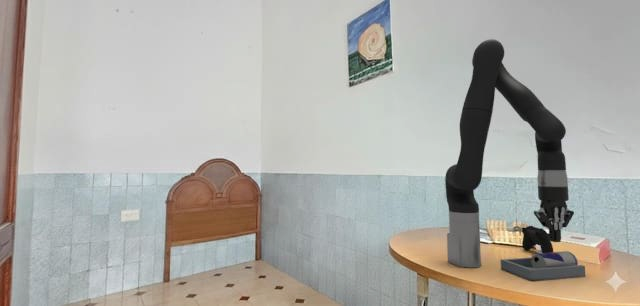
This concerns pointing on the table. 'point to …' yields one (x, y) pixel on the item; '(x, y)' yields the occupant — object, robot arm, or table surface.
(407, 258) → the table surface
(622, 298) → the table surface
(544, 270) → the tray
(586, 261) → the table surface
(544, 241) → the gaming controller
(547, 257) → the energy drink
